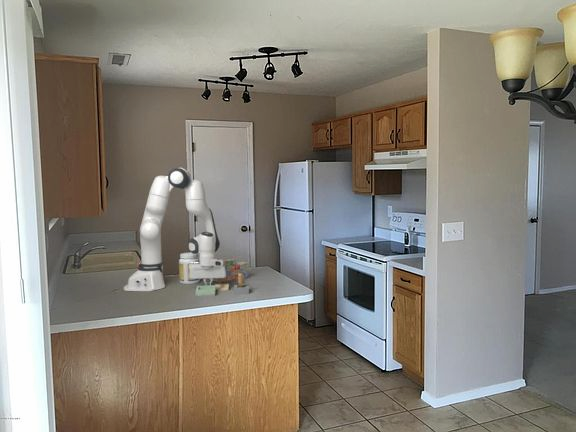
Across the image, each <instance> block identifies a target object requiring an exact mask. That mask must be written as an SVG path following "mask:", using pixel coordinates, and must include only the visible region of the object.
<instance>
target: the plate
mask: <svg viewBox="0 0 576 432" xmlns="http://www.w3.org/2000/svg"><path fill="white" fill-rule="evenodd" d="M214 285H216V291H229V289H230V283H214Z"/></svg>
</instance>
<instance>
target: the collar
mask: <svg viewBox="0 0 576 432" xmlns="http://www.w3.org/2000/svg"><path fill="white" fill-rule="evenodd" d="M233 294H234V295H239V294H242V295H243V294H244V295H245V294H250V285H249V284H244V287H239V288H238V285H237V284H233Z"/></svg>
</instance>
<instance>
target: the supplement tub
mask: <svg viewBox="0 0 576 432" xmlns="http://www.w3.org/2000/svg"><path fill="white" fill-rule="evenodd" d="M179 258H180V259H179V260H178V273H179V275H178V276H179V283H180V284H181V285H194V284H198V283H199V282H201V279H190V277H189V275H190V270H189V264H190V263H191V262H200V257H199V254H192V253H191V252H183V253H180V254H179Z"/></svg>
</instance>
